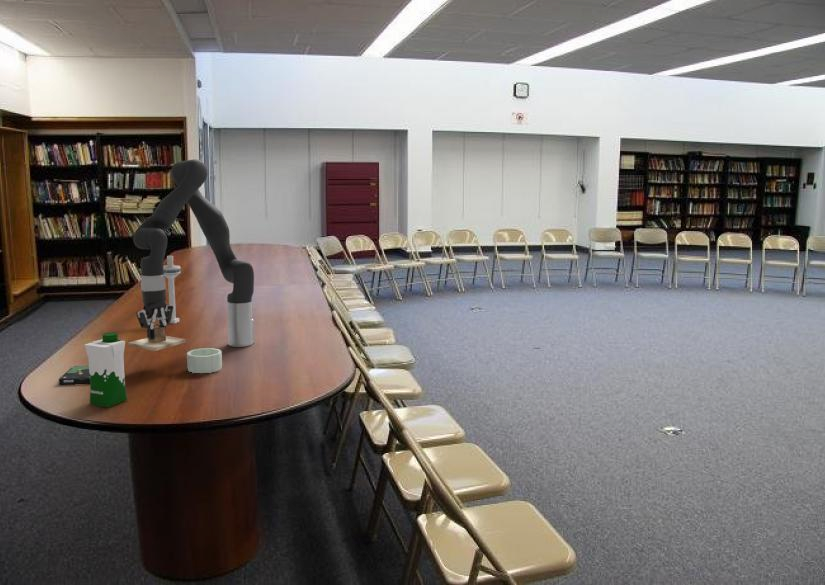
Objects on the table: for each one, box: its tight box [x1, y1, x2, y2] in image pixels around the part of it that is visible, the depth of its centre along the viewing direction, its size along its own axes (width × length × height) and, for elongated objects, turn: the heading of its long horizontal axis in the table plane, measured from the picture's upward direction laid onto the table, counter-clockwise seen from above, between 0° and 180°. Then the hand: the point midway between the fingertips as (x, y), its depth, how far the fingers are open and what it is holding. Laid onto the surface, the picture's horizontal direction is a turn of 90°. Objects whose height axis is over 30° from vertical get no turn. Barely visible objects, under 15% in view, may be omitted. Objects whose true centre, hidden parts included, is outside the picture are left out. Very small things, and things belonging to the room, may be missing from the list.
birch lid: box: [127, 325, 187, 352], centre depth 225 cm, size 13×13×6 cm
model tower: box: [163, 255, 182, 324], centre depth 296 cm, size 8×8×30 cm
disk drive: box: [58, 365, 90, 386], centre depth 216 cm, size 10×3×15 cm
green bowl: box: [186, 347, 223, 374], centre depth 228 cm, size 11×11×6 cm
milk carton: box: [84, 332, 128, 409], centre depth 192 cm, size 9×9×20 cm
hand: (156, 337), depth 225 cm, fingers closed on birch lid, 4 cm apart
